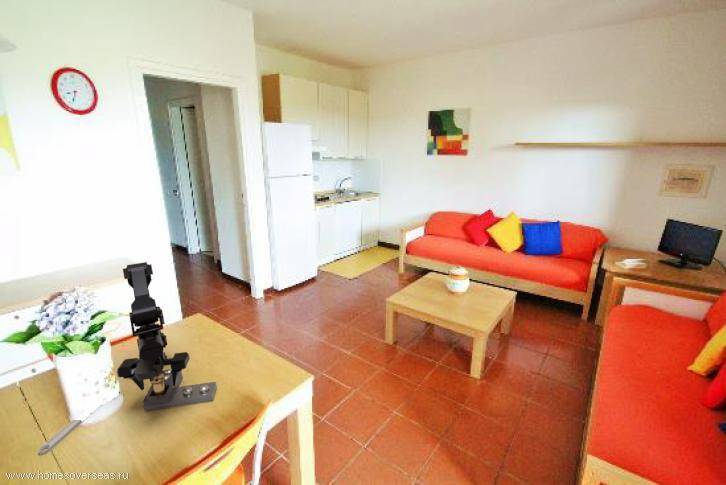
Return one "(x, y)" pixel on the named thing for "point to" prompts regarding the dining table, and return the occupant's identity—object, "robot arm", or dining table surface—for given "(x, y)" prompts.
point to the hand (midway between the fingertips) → (159, 387)
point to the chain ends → (178, 393)
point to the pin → (158, 384)
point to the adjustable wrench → (59, 436)
